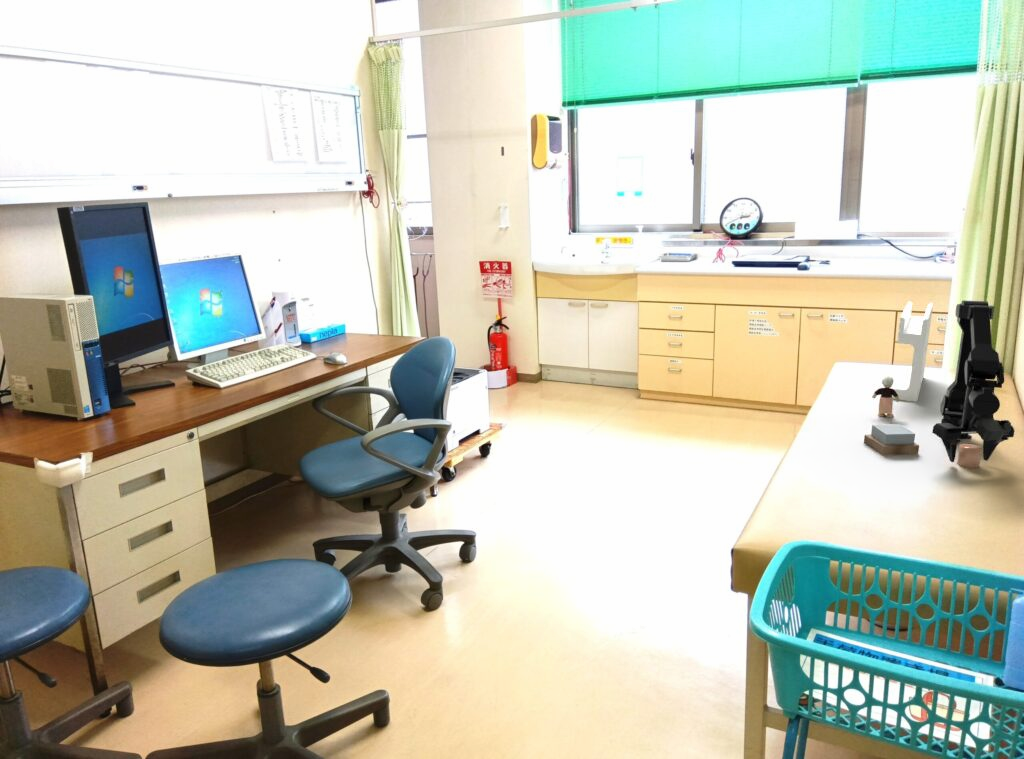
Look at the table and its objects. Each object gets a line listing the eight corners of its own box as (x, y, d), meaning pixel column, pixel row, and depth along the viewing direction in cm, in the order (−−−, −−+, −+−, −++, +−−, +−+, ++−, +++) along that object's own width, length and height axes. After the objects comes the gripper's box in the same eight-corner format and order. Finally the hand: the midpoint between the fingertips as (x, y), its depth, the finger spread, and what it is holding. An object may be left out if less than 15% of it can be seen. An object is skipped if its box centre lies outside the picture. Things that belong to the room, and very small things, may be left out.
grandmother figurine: (896, 414, 240) (901, 376, 236) (897, 418, 236) (902, 379, 233) (869, 412, 242) (874, 374, 239) (870, 416, 239) (875, 377, 235)
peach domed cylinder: (970, 461, 201) (973, 443, 200) (983, 468, 196) (986, 450, 195) (952, 461, 201) (955, 444, 200) (965, 468, 196) (967, 450, 195)
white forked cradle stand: (916, 401, 253) (927, 319, 245) (890, 398, 257) (900, 317, 249) (923, 377, 282) (933, 303, 274) (899, 374, 286) (908, 301, 278)
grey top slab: (899, 434, 215) (900, 424, 214) (913, 444, 207) (915, 433, 206) (871, 434, 215) (872, 424, 214) (884, 444, 207) (886, 434, 206)
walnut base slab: (897, 443, 216) (898, 433, 216) (917, 455, 207) (919, 445, 206) (863, 444, 216) (864, 434, 215) (882, 457, 206) (883, 446, 205)
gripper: (963, 415, 186) (954, 474, 190) (1035, 412, 187) (1024, 471, 191) (935, 402, 197) (927, 458, 201) (1003, 399, 198) (994, 455, 202)
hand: (968, 461), depth 198 cm, fingers open, 9 cm apart
